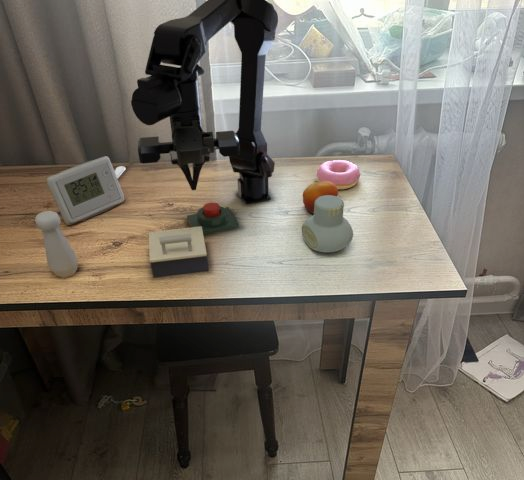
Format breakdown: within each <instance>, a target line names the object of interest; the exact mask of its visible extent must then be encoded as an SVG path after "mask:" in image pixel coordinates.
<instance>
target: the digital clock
mask: <svg viewBox="0 0 524 480" xmlns="http://www.w3.org/2000/svg"><path fill="white" fill-rule="evenodd" d="M46 184H47V186H48V187H47V188H48V189H49V191H50V193H51V195H52V198H53V200H54V202H55V204H56V207H57V208H58V211H59V213H60V216H61V217H62V219H63V221H64V223H65V224H66V225H67V226H72V225H74V224H76V223H79V222H84V221H86V220H88V219H91V218H93V217H96V216H98V215H100V214H102V213H104V212H107V211H109V210H112V209H113V208H114V207H115V206H118V205H121V204H122V203H123V202H124V201H125V195H124V192H123V190H122V187H121V185H120V181H119V178H118V179H117V177H116V174H115V169H114V166H113V163H112V161H111V159H110V158H109V156H106V155H105V156H101V157H99V158H96V159H94V160H93V159H90V160H88V161H86V162H83V163H80V164H76V165H73V166H71V167H69V168H67V169H64V170H61V171H60V172H58V173H56V174H53V175H50V176H48V177H47V178H46Z"/></svg>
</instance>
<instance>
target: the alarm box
mask: <svg viewBox="0 0 524 480" xmlns="http://www.w3.org/2000/svg"><path fill="white" fill-rule="evenodd" d="M219 207H220V214H219V215H218V216H215V217H207V216H205V215H204V210H203V206H202V207H201V208H199V209H198V210H197V212H196V213H192V214H187V215H186V220H187V221H188V224H189V225H190V226H189V227H199V226H202V231H203V236H207V235H212V234H216V233H222V232H226V231H231V230H235V229H239V228H240V222H239V221H238V219H237V217H236V216H235V215H234V213H233V212H232V210H231V209H230V207H229V206H227V207H224V206H222V205H219Z"/></svg>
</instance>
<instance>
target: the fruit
mask: <svg viewBox="0 0 524 480" xmlns="http://www.w3.org/2000/svg"><path fill="white" fill-rule="evenodd" d="M325 195H333V196H337V197H339V189H337V187H336V185H334V184H333V183H332V182H329V181H323V182H319V181H315V182H313V183H310V184H309V185H308V186H307V187H306V188H305V189H304V190H303V192H302V203H303V205H304V207H305V209H306V210H307V211H308V212H309V213H311V214H314V203H315V200H316V199H317V198H319V197H321V196H325Z"/></svg>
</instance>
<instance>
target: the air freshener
mask: <svg viewBox="0 0 524 480" xmlns="http://www.w3.org/2000/svg"><path fill="white" fill-rule="evenodd" d="M344 206H345V201H344V200H343V199H342V198H341V197H339V196H338V197H337V196H333V195H325V196H321V197H319V198H317V199H316V200H315V203H314V213H313V215H311V216H309V217H308V218H306V220H305V221H304V222H303V224H302V226H301V235H302V237H303V240H304V242H305V244H307V246H308V247H309V248H310V249H311V250H314V251H316V252H320V253H335V252H339V251H341V250H343V249H345V248H346V247H348V246H349V244H350V243H351V242H352V240H353V238H354V230H353V228H352V225H351V223H350V221H348V219H346V217H344V208H345V207H344Z"/></svg>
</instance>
